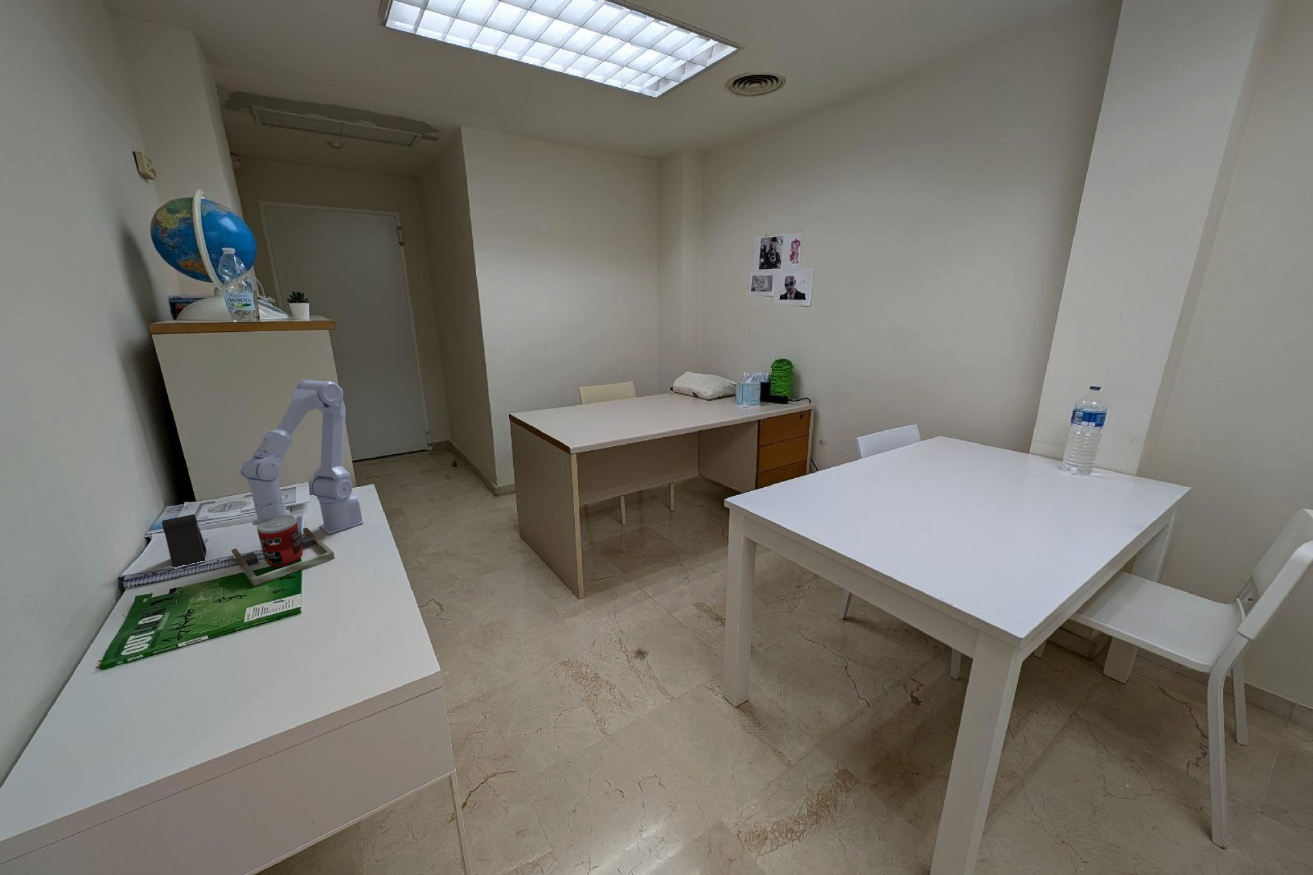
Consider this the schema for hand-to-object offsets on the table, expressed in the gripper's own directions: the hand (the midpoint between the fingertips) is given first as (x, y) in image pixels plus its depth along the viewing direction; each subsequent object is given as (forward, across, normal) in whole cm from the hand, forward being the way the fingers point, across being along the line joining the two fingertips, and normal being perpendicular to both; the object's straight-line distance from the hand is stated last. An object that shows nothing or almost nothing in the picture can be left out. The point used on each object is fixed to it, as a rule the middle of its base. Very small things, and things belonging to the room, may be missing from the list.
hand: (278, 548), depth 128 cm
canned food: (+2, +4, 0) cm, 4 cm away
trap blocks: (+2, -1, 0) cm, 2 cm away
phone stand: (+2, -15, -16) cm, 22 cm away
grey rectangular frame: (+2, +2, 0) cm, 3 cm away
